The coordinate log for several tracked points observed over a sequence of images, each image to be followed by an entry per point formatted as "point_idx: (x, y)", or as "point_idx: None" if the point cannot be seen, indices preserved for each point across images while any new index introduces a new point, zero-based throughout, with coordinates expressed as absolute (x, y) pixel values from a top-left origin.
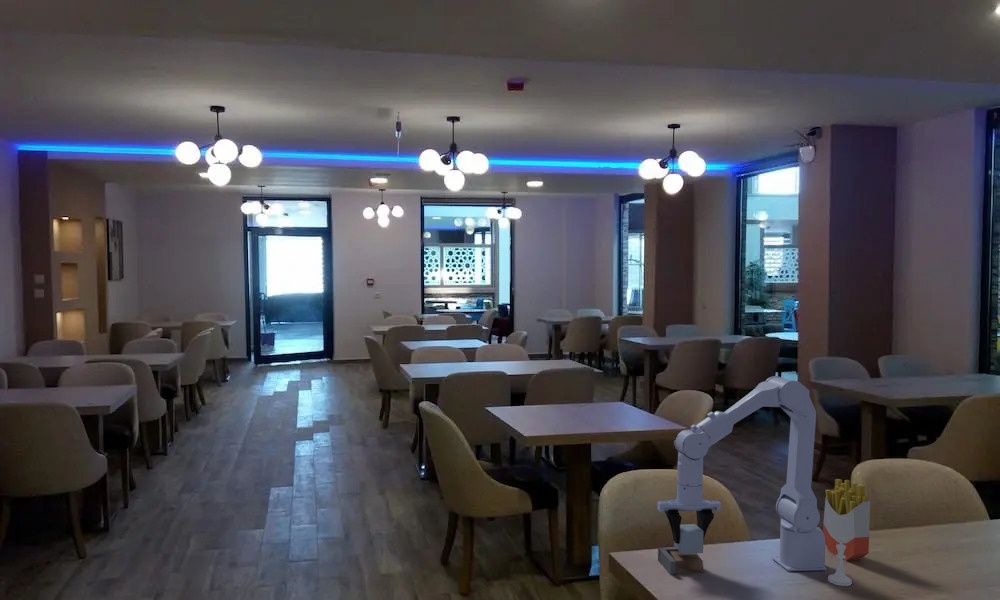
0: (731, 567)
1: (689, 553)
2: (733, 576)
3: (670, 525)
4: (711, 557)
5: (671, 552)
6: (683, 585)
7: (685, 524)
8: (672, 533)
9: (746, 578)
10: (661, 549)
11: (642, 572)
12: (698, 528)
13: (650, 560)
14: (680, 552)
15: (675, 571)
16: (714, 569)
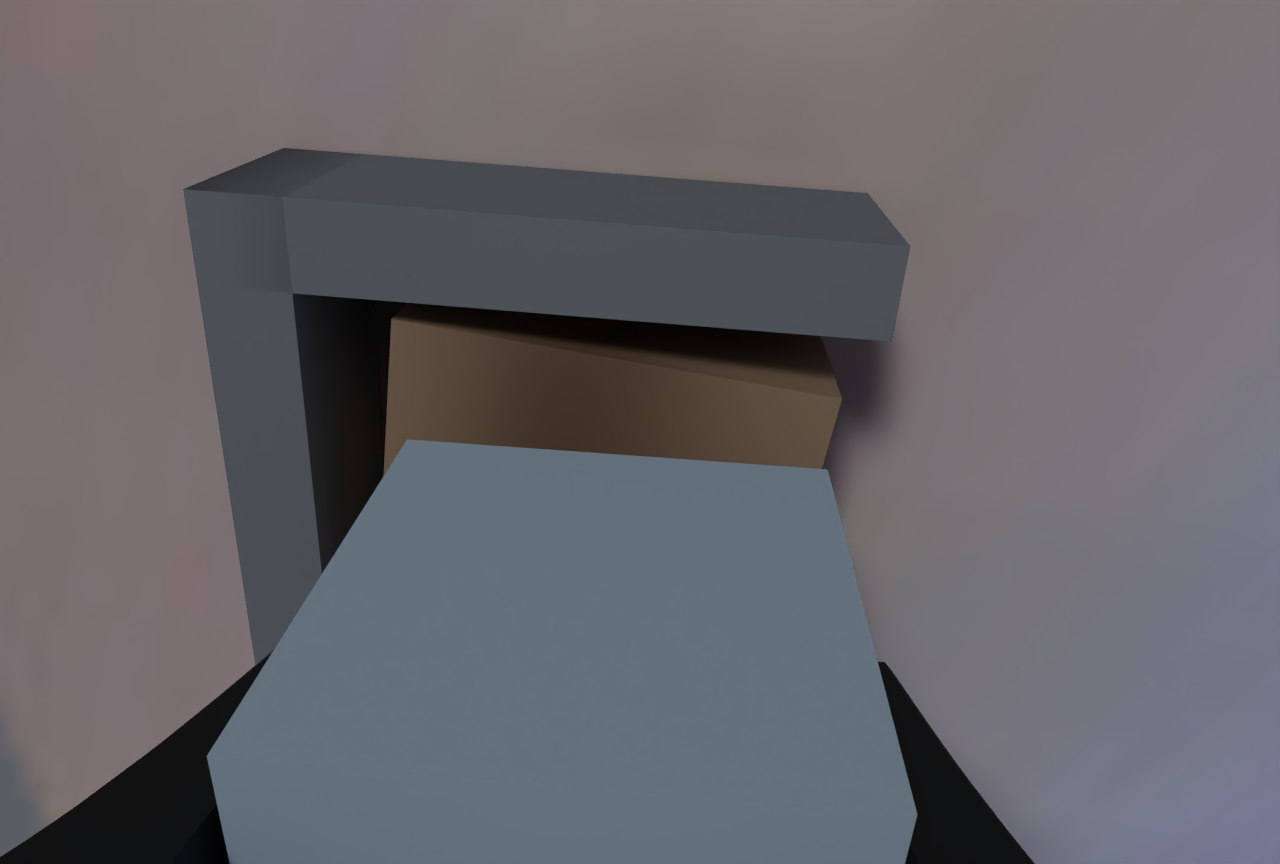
0: (1228, 534)
1: (693, 458)
2: (1043, 752)
3: (47, 839)
4: (1230, 132)
5: (402, 370)
6: None
7: (578, 790)
8: (223, 695)
9: (1149, 810)
10: (226, 292)
11: (8, 515)
12: None
13: (166, 130)
14: (559, 392)
15: None
16: (954, 559)
